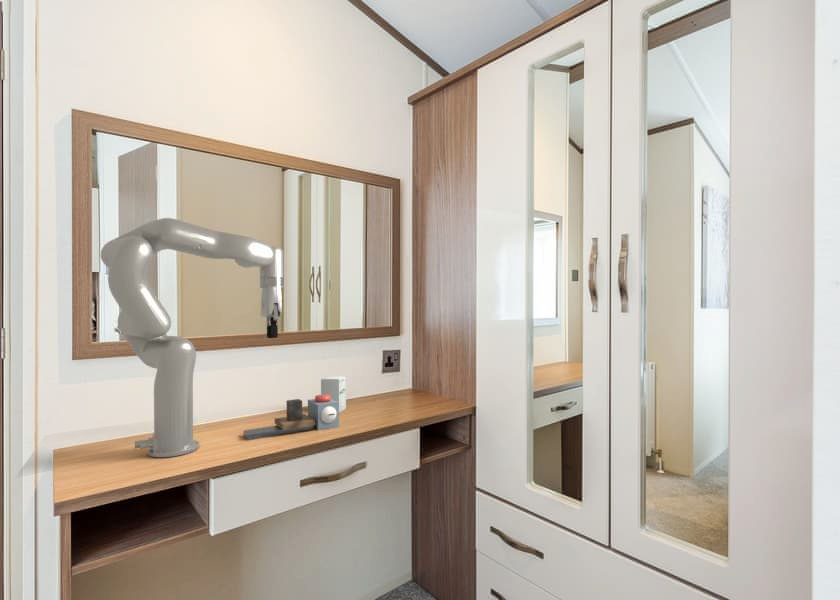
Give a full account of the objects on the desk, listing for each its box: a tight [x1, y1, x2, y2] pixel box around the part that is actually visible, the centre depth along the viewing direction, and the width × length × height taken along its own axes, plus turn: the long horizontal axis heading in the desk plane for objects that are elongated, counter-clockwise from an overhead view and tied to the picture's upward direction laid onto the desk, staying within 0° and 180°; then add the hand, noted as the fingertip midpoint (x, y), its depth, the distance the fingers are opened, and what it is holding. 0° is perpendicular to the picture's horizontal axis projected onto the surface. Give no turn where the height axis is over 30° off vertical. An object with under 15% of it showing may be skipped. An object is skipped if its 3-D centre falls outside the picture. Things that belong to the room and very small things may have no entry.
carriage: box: [274, 398, 315, 430], centre depth 143 cm, size 10×10×8 cm
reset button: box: [314, 394, 331, 402], centre depth 148 cm, size 5×5×2 cm
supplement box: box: [320, 375, 347, 414], centre depth 168 cm, size 7×7×13 cm
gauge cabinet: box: [307, 398, 340, 431], centre depth 148 cm, size 7×10×8 cm
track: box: [242, 424, 314, 441], centre depth 140 cm, size 20×6×2 cm, turn 123°
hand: (272, 337), depth 151 cm, fingers closed
